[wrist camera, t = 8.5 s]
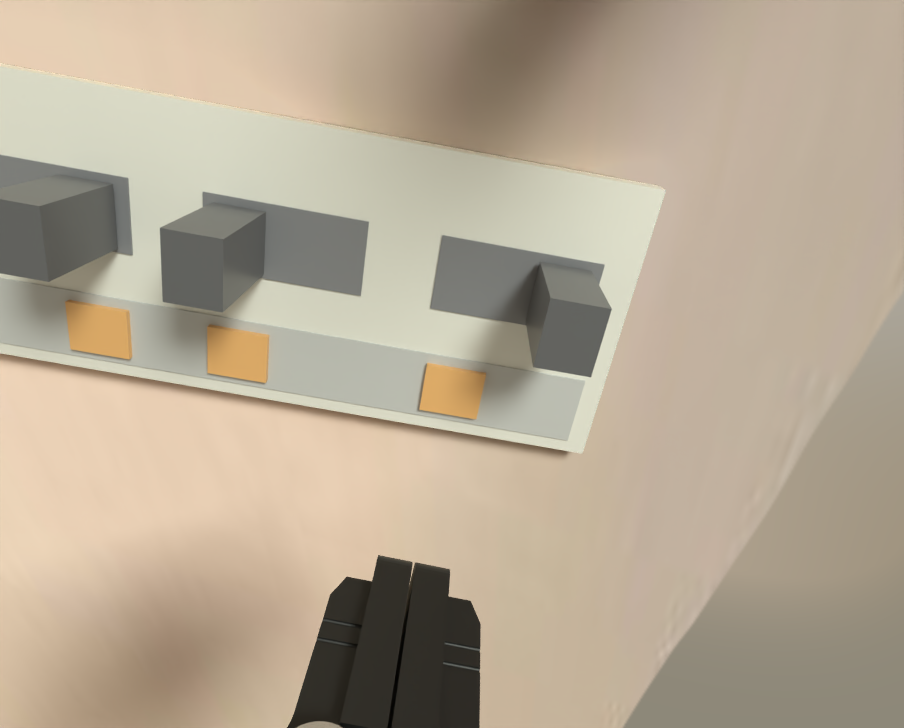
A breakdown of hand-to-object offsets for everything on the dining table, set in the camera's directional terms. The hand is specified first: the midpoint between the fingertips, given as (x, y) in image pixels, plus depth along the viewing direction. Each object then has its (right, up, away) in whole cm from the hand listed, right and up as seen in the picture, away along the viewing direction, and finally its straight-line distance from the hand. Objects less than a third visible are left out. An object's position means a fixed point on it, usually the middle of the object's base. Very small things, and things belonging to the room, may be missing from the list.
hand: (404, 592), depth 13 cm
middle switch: (-9, +10, +16) cm, 21 cm away
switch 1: (-16, +12, +15) cm, 25 cm away
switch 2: (+6, +8, +16) cm, 19 cm away
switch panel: (-7, +9, +18) cm, 21 cm away
